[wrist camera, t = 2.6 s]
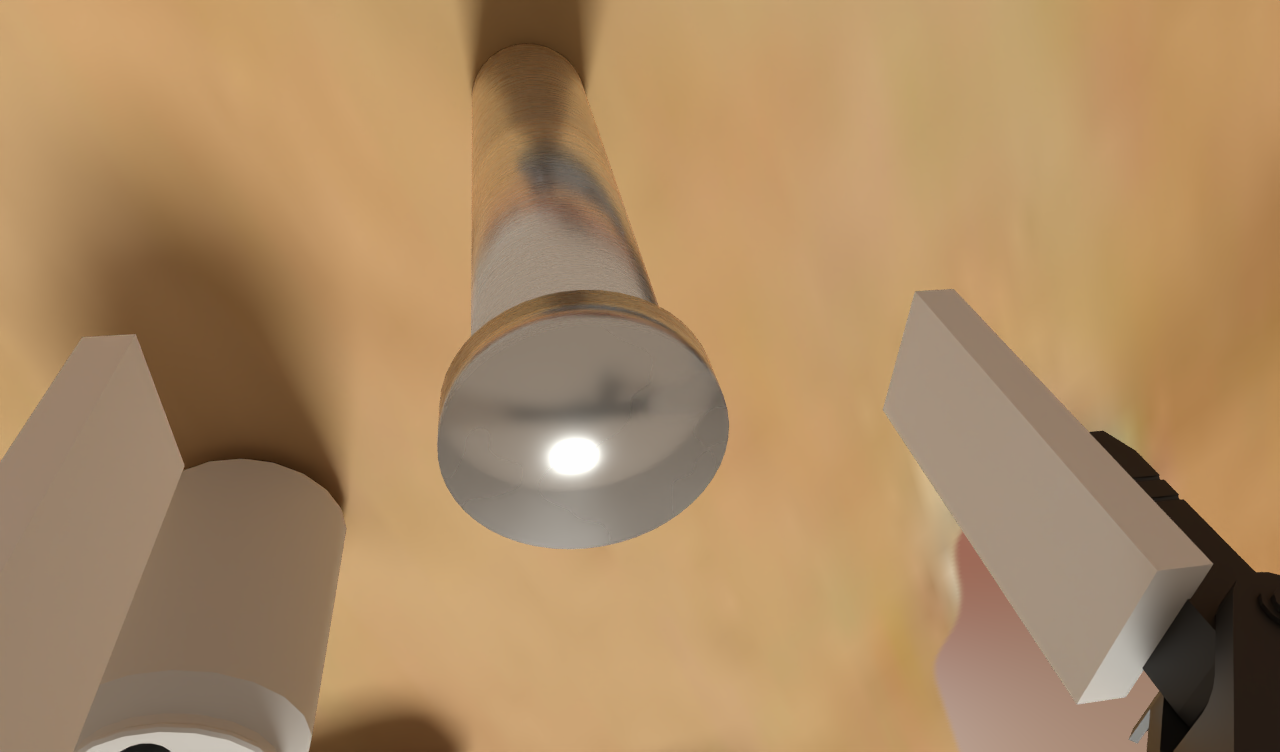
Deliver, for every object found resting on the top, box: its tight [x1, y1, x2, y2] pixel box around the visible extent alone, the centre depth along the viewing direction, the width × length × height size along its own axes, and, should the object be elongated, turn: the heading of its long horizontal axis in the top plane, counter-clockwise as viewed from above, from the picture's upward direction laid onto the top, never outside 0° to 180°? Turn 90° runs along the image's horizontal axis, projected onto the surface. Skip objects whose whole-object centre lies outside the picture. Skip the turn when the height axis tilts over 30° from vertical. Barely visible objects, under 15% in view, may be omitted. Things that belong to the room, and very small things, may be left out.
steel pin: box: [437, 44, 729, 549], centre depth 20 cm, size 5×5×17 cm
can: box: [73, 459, 346, 752], centre depth 30 cm, size 8×8×12 cm
